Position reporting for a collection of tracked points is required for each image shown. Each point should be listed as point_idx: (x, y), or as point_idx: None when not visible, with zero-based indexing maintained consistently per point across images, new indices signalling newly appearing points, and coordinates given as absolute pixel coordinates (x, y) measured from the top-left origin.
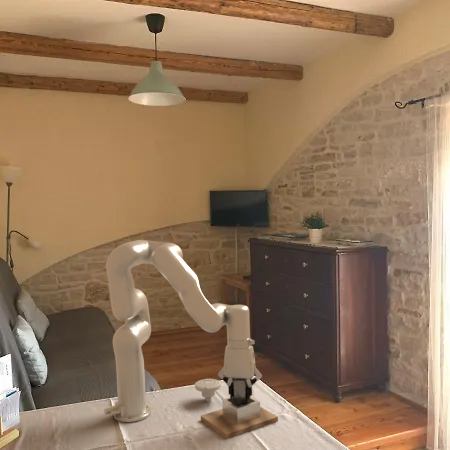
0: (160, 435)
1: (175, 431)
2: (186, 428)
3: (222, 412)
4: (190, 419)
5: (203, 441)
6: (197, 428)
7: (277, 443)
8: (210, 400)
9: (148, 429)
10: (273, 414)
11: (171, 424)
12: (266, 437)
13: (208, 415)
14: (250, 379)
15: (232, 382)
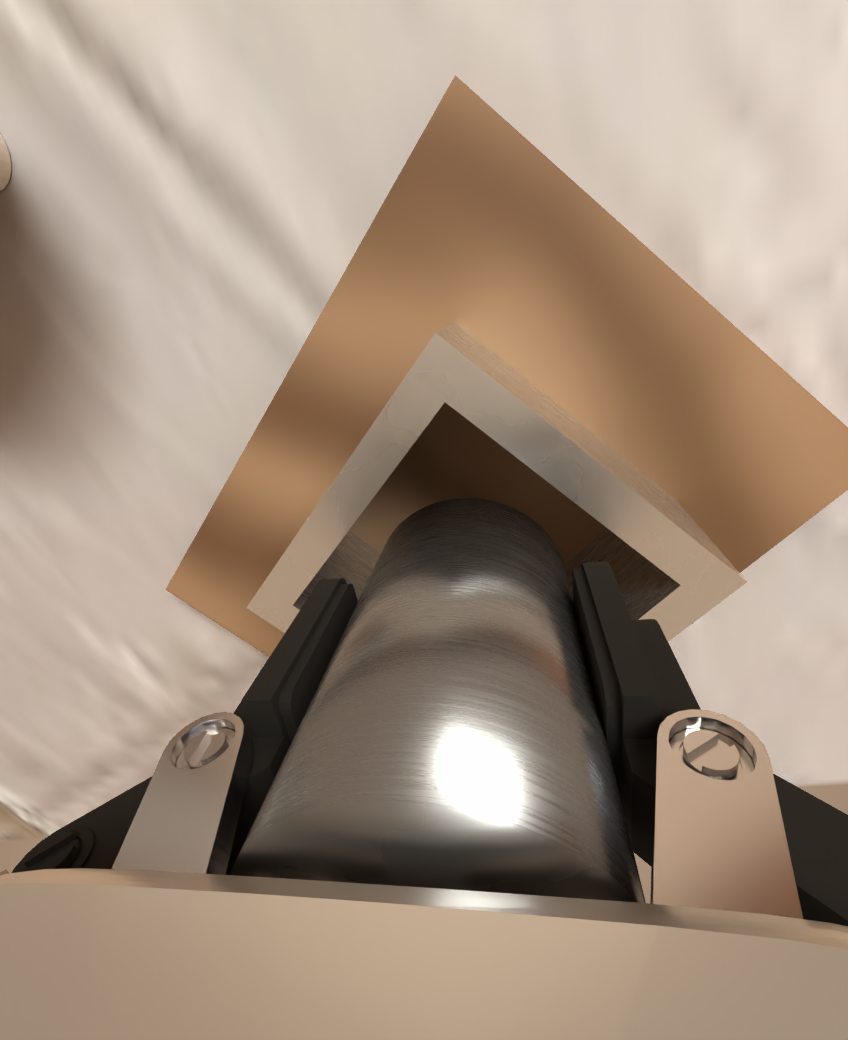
0: (110, 760)
1: (147, 719)
2: (178, 683)
3: (292, 502)
4: (119, 576)
5: None
6: (237, 673)
7: (826, 764)
8: (5, 166)
9: (11, 719)
10: (832, 421)
11: (67, 655)
12: (738, 710)
13: (216, 576)
14: (736, 878)
15: (269, 782)
